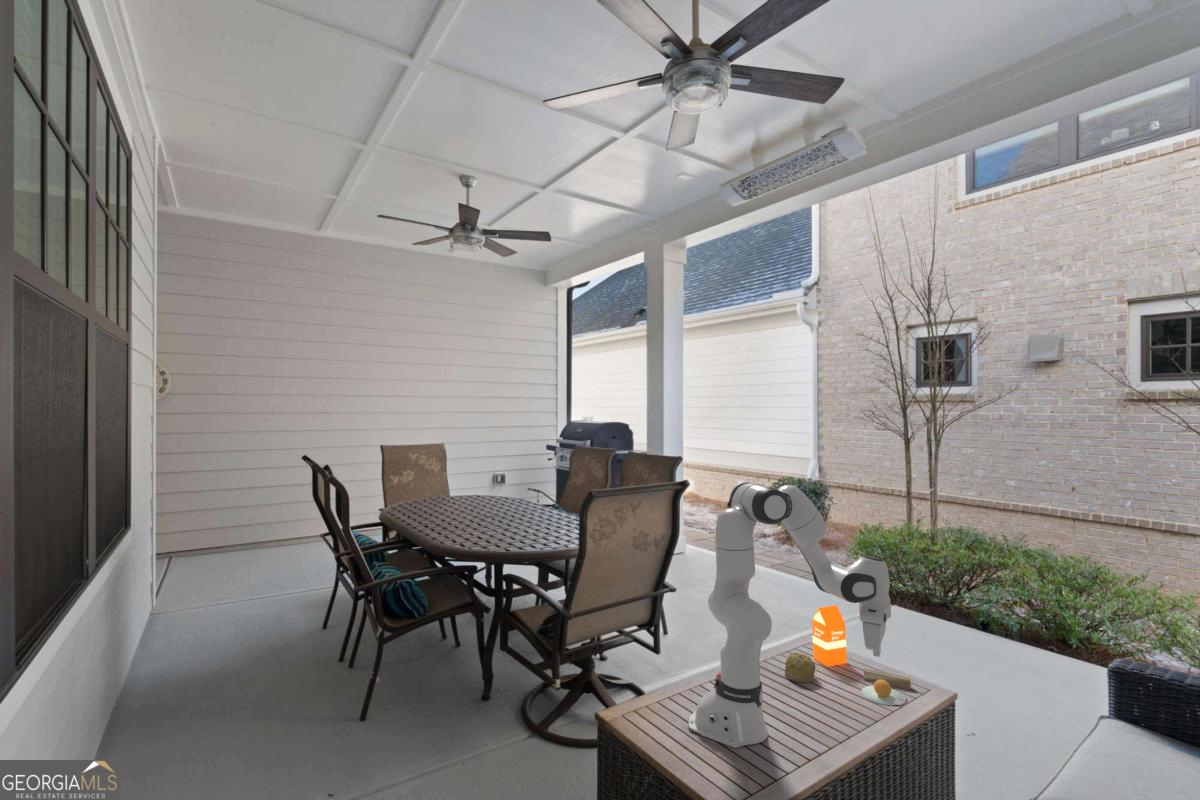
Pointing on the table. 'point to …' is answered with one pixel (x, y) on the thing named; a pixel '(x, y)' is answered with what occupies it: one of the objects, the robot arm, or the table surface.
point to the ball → (882, 688)
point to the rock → (799, 668)
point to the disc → (874, 697)
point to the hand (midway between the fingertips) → (877, 654)
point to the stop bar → (887, 678)
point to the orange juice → (829, 636)
